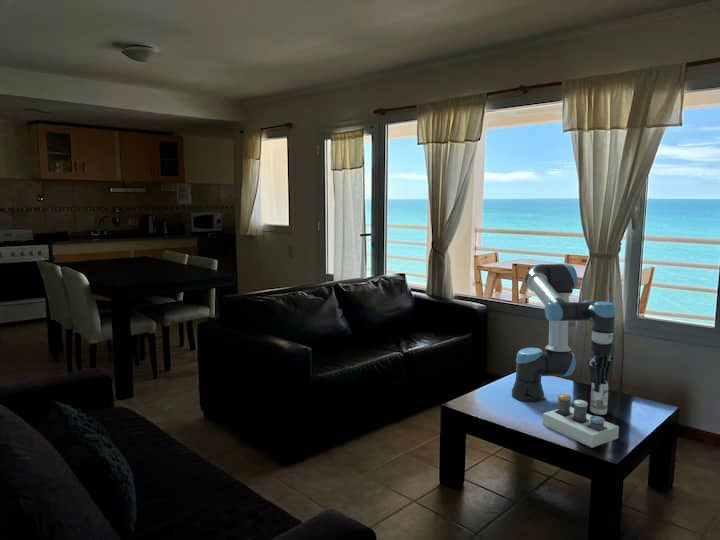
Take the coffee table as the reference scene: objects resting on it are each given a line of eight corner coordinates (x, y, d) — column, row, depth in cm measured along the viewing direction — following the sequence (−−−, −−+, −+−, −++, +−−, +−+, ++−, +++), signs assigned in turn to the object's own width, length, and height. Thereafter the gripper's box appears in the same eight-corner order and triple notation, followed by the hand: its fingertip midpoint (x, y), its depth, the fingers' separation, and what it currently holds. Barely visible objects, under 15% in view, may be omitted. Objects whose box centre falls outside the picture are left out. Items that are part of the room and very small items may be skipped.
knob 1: (554, 413, 219) (555, 395, 218) (562, 410, 222) (563, 392, 221) (564, 417, 215) (565, 399, 214) (572, 414, 217) (573, 396, 216)
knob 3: (586, 436, 206) (587, 417, 205) (594, 433, 208) (595, 414, 207) (597, 441, 201) (599, 422, 200) (606, 438, 204) (607, 419, 203)
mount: (542, 424, 218) (543, 413, 218) (568, 416, 226) (568, 406, 225) (591, 447, 198) (592, 435, 197) (618, 438, 205) (618, 426, 205)
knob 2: (570, 419, 212) (571, 401, 211) (578, 417, 215) (579, 399, 214) (580, 424, 208) (581, 405, 207) (589, 421, 210) (590, 403, 209)
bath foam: (601, 416, 226) (603, 372, 224) (586, 411, 232) (589, 368, 230) (610, 412, 230) (612, 369, 228) (595, 407, 236) (598, 365, 233)
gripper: (599, 346, 193) (595, 405, 197) (621, 341, 200) (617, 399, 203) (582, 341, 200) (579, 399, 203) (604, 337, 206) (600, 392, 210)
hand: (598, 399), depth 203 cm, fingers closed
